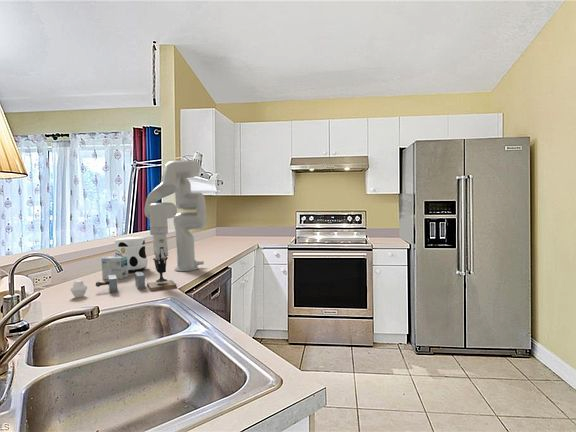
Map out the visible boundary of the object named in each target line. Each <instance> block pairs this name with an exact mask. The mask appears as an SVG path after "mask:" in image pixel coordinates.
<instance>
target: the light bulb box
mask: <svg viewBox="0 0 576 432" xmlns="http://www.w3.org/2000/svg"><path fill="white" fill-rule="evenodd" d="M101 273H102V275H101V276H102V279H103V280H106V279H107V280H108V275H116V277H117V280H119V279H121V280H122V279H124V278H125V279H126V278H127V277H129V272H128V261H127V256H115V255H114V256H113V255H112V256H109V255H108V256H105V257H101Z"/></svg>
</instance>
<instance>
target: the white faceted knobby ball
mask: <svg viewBox="0 0 576 432" xmlns="http://www.w3.org/2000/svg"><path fill="white" fill-rule="evenodd" d="M69 290H70V291H71V294H72V295H73V297H74V298H75V299H76V298H83V297H84V296H85V294H86V292H87V290H88V286H87V285H86V284H85V283H84V281H83V280H79V279H78V280H75V281H74V282H73V284H72V286H71V287H70V289H69Z"/></svg>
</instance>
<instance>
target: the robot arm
mask: <svg viewBox="0 0 576 432" xmlns="http://www.w3.org/2000/svg"><path fill="white" fill-rule="evenodd" d="M200 168H201V167H200V164H199V162H198V161H197V160H193V159H192V160H190V159H187V160H171V161H168V162H167V163H165V165H164V167H163V171H162V176H161V179H160V184H158V185H157V186H156V187H154V188H153V190H151V192H149V193H148V195H147V197H146V199H145V205H144V210H143V211H144V212H143V213H144V216H145V217H146V218H147V219H149V235H150V236H152V240H153V241H152V242H153V243H152V244H153V255H154V257H155V256H157V257H158V263H159V264H158V274H160V273H163V274H164V273H166V272H167V262H166V263H165V256H167V257H168V256H169V250H168V248H169V247H168V246H169V245H168V238H167V235H169V228H168V227H169V226H168V220H170V219H173V226H174V230H175V239H176V240H175V241H176V243H175V245H176V246H175V247H176V260H177V261H176V263H177V266H175V267H174V271H176V272H190V271H197V269H199V265H200V266H201V265H204V263H205V262H204V260H202V261H199V260H198V261H197V260H195V259H196V257H195V255H196V253H195V238H194V235H193V233H192V232H191V230H204V229H205V228H206V226H207V209H206V207H207V205H206V197H205V195H204V194H203V193H202V192H199V191H198V192H197V191H196V192H195V191H194V192H192V185H191V181H190V179H192V178H195V177H197V176H198V175H199V173H200V170H201V169H200ZM188 178H189V179H188ZM173 194H174V195H175V200H174V201H175V203H173V202H158V201H159V200H161V199H163V198H166V197H169V196H171V195H173ZM178 210H180V211H186V212H178ZM191 210H192V212H191ZM194 210H195V212H193V211H194ZM187 211H190V212H187ZM159 255H161V257H159Z"/></svg>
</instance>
